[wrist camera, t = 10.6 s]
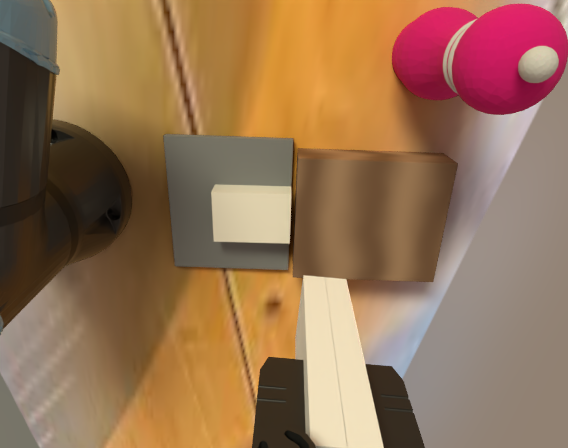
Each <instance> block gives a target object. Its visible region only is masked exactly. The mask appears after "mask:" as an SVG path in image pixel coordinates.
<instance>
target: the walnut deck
mask: <svg viewBox="0 0 568 448" xmlns="http://www.w3.org/2000/svg"><path fill="white" fill-rule="evenodd" d="M457 166H458V164H457V163H456V162H455V161H453V160H452V159H451V158H449V157H448V156H446V155H445V154H444V153H421V152H392V151H362V150H332V149H302V148H298V153H297V176H296V198H295V220H294V242H293V277H297V278H303V275H306V276H317V277H328V278H339V279H357V280H387V281H417V282H433V280H434V275H435V271H436V266H437V261H438V256H439V252H440V247H441V242H442V237H443V232H444V228H445V223H446V218H447V213H448V209H449V204H450V199H451V194H452V190H453V185H454V180H455V175H456V170H457Z"/></svg>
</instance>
